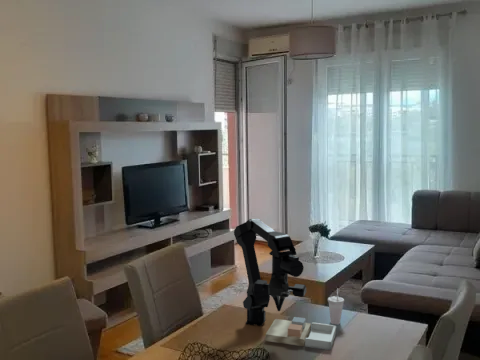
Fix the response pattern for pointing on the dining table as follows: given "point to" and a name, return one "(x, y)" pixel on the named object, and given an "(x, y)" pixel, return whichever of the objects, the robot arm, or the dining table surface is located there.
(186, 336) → the dining table surface
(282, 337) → the board
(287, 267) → the robot arm
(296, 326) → the tile front
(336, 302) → the smoothie
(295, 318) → the tile back
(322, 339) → the tray
